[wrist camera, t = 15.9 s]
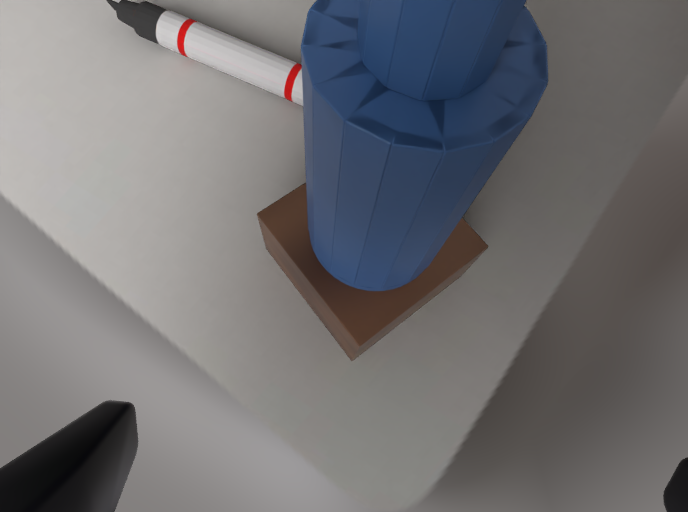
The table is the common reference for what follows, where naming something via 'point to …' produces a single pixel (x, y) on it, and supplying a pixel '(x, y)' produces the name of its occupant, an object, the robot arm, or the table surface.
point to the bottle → (408, 124)
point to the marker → (214, 48)
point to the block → (348, 302)
